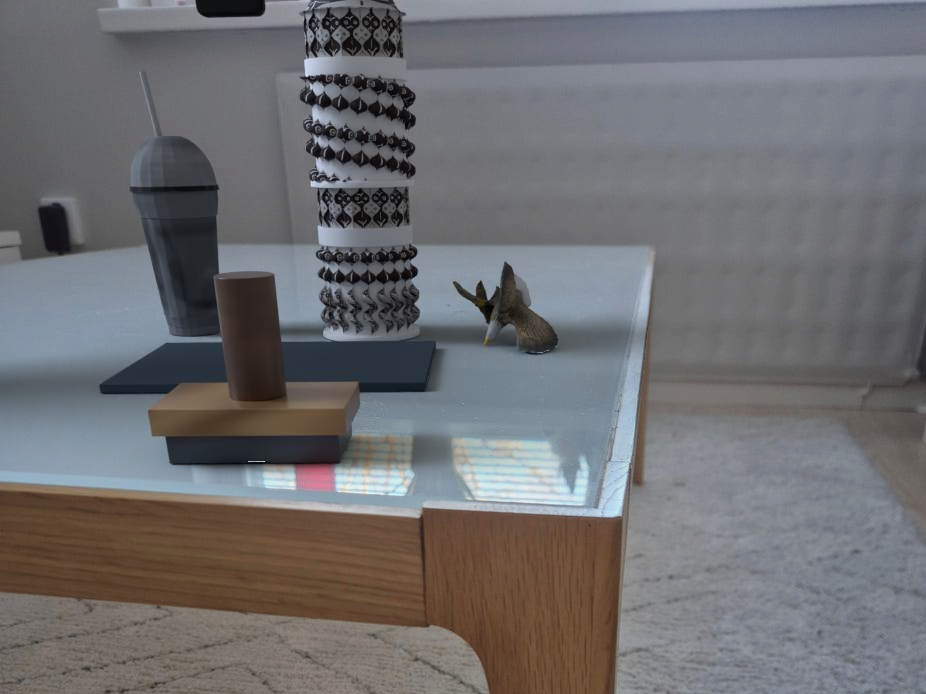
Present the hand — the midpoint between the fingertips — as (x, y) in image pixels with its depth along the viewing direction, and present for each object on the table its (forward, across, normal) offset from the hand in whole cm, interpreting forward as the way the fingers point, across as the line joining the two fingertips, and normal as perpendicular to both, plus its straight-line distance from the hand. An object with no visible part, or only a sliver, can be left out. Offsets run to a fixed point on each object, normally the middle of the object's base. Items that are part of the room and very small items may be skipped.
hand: (204, 2), depth 41 cm
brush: (+20, -2, 0) cm, 20 cm away
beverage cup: (+20, -39, -14) cm, 46 cm away
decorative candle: (+20, -37, +2) cm, 42 cm away
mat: (+20, -23, -3) cm, 30 cm away
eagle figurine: (+20, -32, +14) cm, 40 cm away
